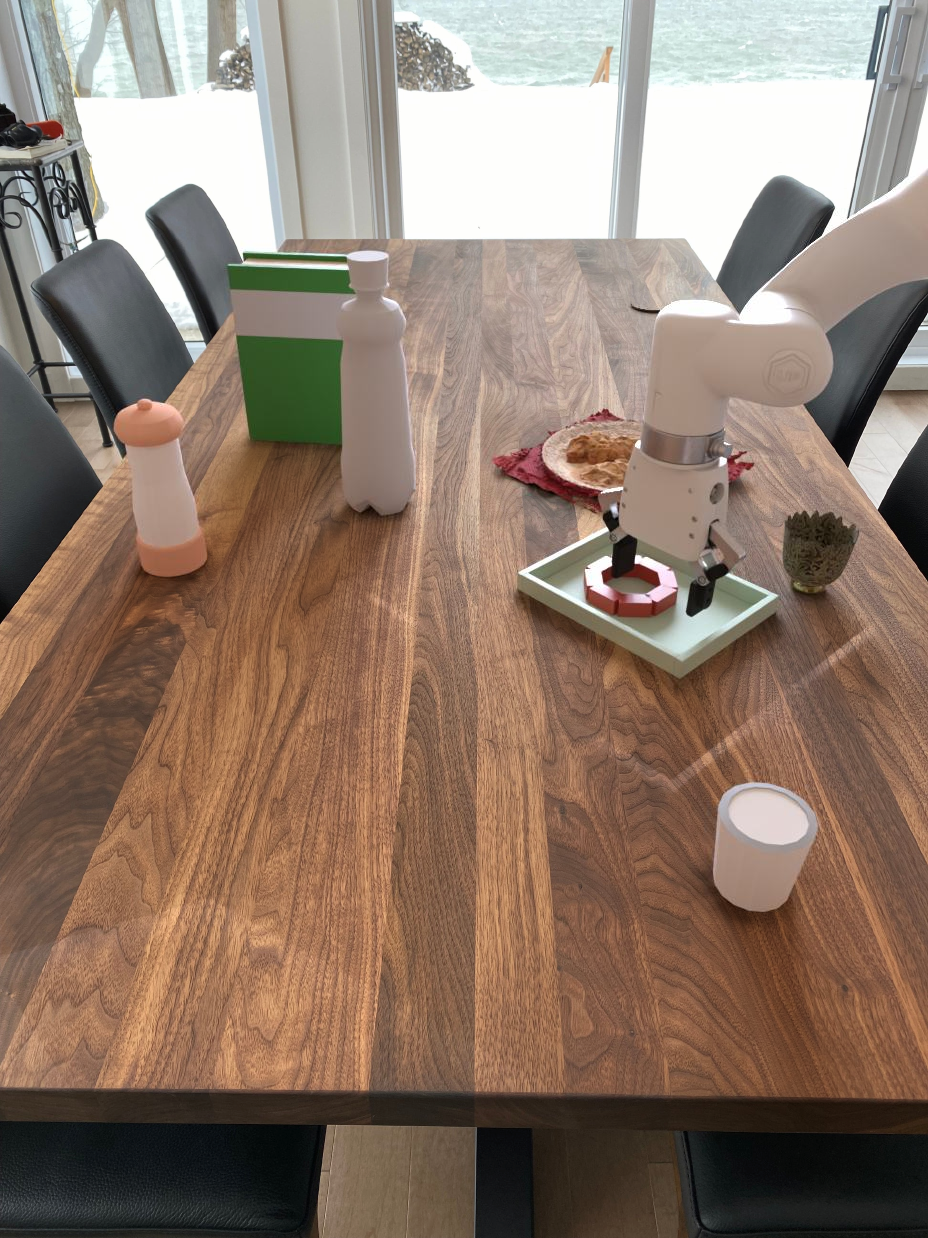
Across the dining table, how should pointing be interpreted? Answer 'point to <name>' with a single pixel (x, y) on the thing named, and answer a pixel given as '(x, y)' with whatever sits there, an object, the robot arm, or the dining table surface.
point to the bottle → (374, 392)
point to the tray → (658, 638)
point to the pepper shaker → (160, 490)
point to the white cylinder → (761, 844)
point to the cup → (816, 550)
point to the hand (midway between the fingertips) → (658, 591)
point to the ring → (631, 603)
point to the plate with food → (586, 458)
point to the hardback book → (290, 343)
